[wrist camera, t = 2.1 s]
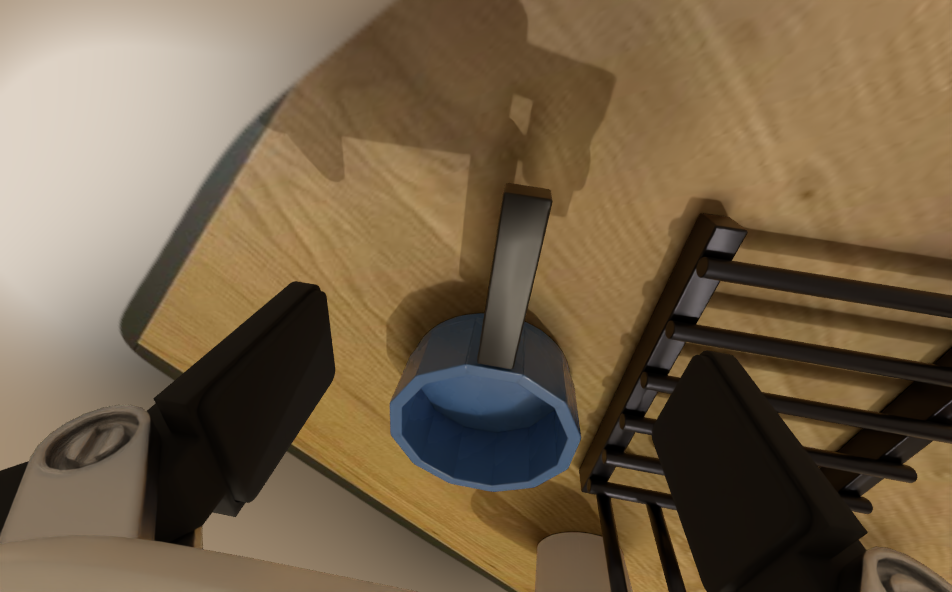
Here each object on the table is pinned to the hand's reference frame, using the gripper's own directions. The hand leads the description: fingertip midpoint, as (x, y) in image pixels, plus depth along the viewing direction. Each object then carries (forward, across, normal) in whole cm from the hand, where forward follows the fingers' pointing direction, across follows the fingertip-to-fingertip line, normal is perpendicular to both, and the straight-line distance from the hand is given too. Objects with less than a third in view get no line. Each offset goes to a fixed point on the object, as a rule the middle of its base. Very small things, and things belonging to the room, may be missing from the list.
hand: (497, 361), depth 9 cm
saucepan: (+8, 0, +5) cm, 9 cm away
